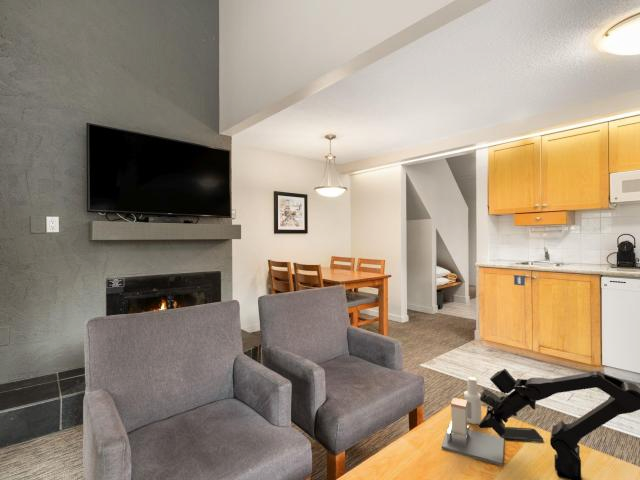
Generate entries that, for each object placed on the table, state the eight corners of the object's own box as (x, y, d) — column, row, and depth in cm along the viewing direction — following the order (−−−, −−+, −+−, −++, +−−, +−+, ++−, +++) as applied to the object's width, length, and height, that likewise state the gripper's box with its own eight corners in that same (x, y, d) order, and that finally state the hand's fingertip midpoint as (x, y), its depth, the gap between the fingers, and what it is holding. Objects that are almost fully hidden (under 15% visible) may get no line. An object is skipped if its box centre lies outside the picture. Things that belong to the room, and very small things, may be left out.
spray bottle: (468, 414, 150) (468, 373, 150) (484, 420, 145) (484, 378, 144) (461, 419, 146) (460, 378, 145) (476, 426, 140) (476, 383, 140)
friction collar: (468, 434, 133) (468, 425, 133) (466, 446, 126) (466, 437, 126) (451, 430, 137) (450, 421, 137) (447, 441, 129) (447, 432, 129)
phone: (494, 426, 139) (534, 428, 137) (495, 429, 139) (534, 431, 137) (502, 438, 131) (544, 440, 129) (502, 440, 131) (544, 443, 129)
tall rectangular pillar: (467, 436, 132) (467, 400, 132) (465, 443, 127) (465, 406, 127) (453, 432, 135) (453, 397, 134) (451, 439, 130) (450, 403, 130)
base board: (503, 440, 131) (503, 438, 131) (502, 466, 117) (502, 463, 117) (448, 426, 141) (448, 424, 141) (441, 448, 127) (441, 446, 127)
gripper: (495, 375, 133) (465, 397, 138) (492, 395, 116) (459, 420, 122) (519, 399, 129) (487, 421, 134) (520, 424, 113) (484, 448, 118)
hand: (479, 426), depth 127 cm, fingers closed
